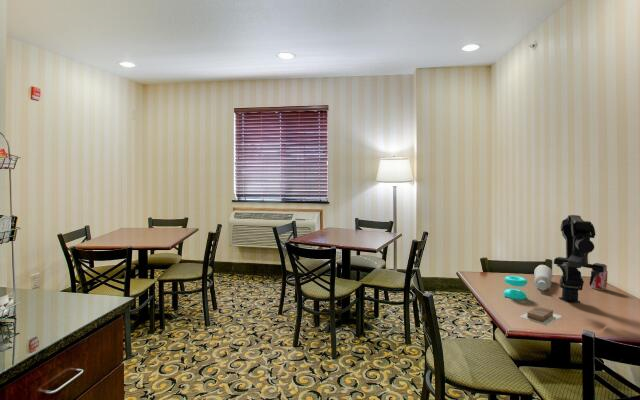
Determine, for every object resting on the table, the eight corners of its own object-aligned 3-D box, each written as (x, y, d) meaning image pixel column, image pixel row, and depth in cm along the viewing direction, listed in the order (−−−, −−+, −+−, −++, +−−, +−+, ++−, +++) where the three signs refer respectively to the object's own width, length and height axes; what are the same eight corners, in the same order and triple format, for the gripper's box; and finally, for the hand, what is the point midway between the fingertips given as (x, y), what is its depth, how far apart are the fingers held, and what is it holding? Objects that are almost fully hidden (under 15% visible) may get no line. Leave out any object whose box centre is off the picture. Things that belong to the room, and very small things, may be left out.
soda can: (608, 289, 199) (610, 267, 198) (603, 291, 195) (605, 269, 195) (593, 285, 205) (594, 264, 204) (587, 287, 201) (589, 266, 200)
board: (537, 306, 162) (527, 311, 155) (553, 310, 157) (543, 316, 150) (537, 311, 162) (527, 317, 155) (552, 316, 158) (542, 322, 151)
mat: (534, 309, 167) (534, 308, 167) (562, 317, 158) (562, 315, 158) (519, 317, 156) (519, 316, 156) (548, 326, 148) (548, 325, 148)
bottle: (530, 272, 220) (528, 286, 195) (541, 261, 217) (540, 273, 191) (545, 282, 217) (544, 298, 191) (556, 271, 213) (556, 285, 188)
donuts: (517, 274, 188) (532, 280, 178) (516, 293, 189) (531, 300, 179) (500, 275, 186) (514, 281, 176) (499, 294, 187) (513, 301, 177)
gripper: (550, 247, 165) (548, 281, 167) (600, 255, 151) (598, 292, 152) (559, 244, 173) (557, 277, 174) (608, 251, 158) (605, 287, 159)
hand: (578, 283), depth 165 cm, fingers open, 9 cm apart
